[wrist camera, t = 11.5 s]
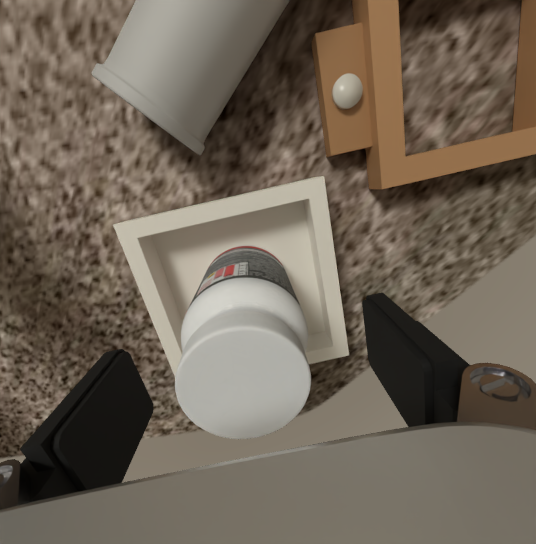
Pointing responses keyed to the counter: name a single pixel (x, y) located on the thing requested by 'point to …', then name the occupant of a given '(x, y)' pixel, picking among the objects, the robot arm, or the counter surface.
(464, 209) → the counter surface
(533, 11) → the brown flat square frame
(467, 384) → the robot arm
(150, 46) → the tube
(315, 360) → the parts tray
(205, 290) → the pill bottle
